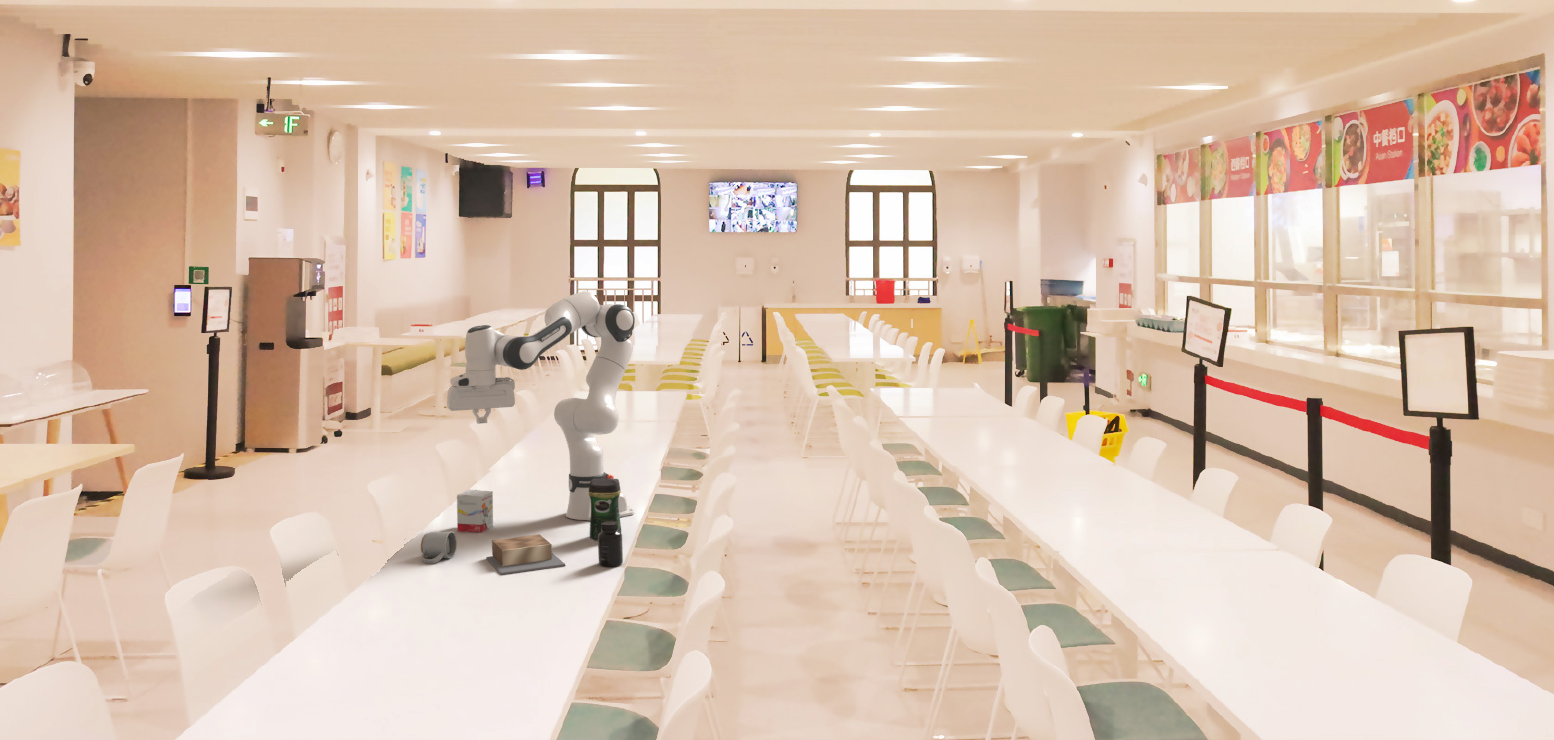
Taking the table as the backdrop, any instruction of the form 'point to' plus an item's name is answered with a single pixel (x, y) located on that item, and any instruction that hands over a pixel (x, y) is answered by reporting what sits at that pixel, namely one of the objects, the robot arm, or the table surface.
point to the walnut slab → (521, 549)
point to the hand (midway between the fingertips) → (481, 423)
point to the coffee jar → (603, 504)
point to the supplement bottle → (610, 545)
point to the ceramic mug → (438, 546)
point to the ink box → (475, 511)
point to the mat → (525, 565)
